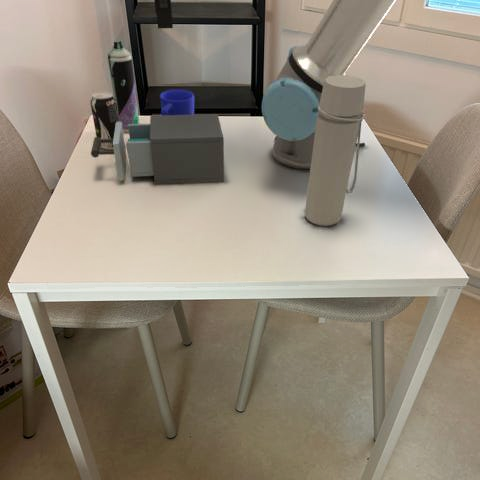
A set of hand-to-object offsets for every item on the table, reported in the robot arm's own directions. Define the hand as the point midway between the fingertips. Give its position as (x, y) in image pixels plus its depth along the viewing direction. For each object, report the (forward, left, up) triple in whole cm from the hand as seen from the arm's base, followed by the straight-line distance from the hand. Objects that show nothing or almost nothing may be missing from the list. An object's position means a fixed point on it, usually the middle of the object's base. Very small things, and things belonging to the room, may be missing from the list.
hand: (163, 20), depth 92 cm
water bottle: (-29, +29, -28) cm, 49 cm away
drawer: (+8, +6, -27) cm, 29 cm away
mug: (-1, -11, -28) cm, 30 cm away
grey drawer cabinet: (-3, +6, -28) cm, 29 cm away
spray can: (+11, -19, -28) cm, 36 cm away
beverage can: (+15, -8, -28) cm, 33 cm away
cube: (+10, +6, -24) cm, 26 cm away
